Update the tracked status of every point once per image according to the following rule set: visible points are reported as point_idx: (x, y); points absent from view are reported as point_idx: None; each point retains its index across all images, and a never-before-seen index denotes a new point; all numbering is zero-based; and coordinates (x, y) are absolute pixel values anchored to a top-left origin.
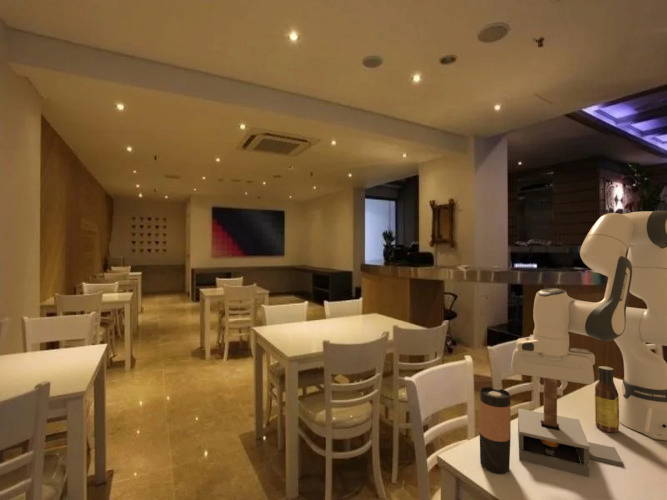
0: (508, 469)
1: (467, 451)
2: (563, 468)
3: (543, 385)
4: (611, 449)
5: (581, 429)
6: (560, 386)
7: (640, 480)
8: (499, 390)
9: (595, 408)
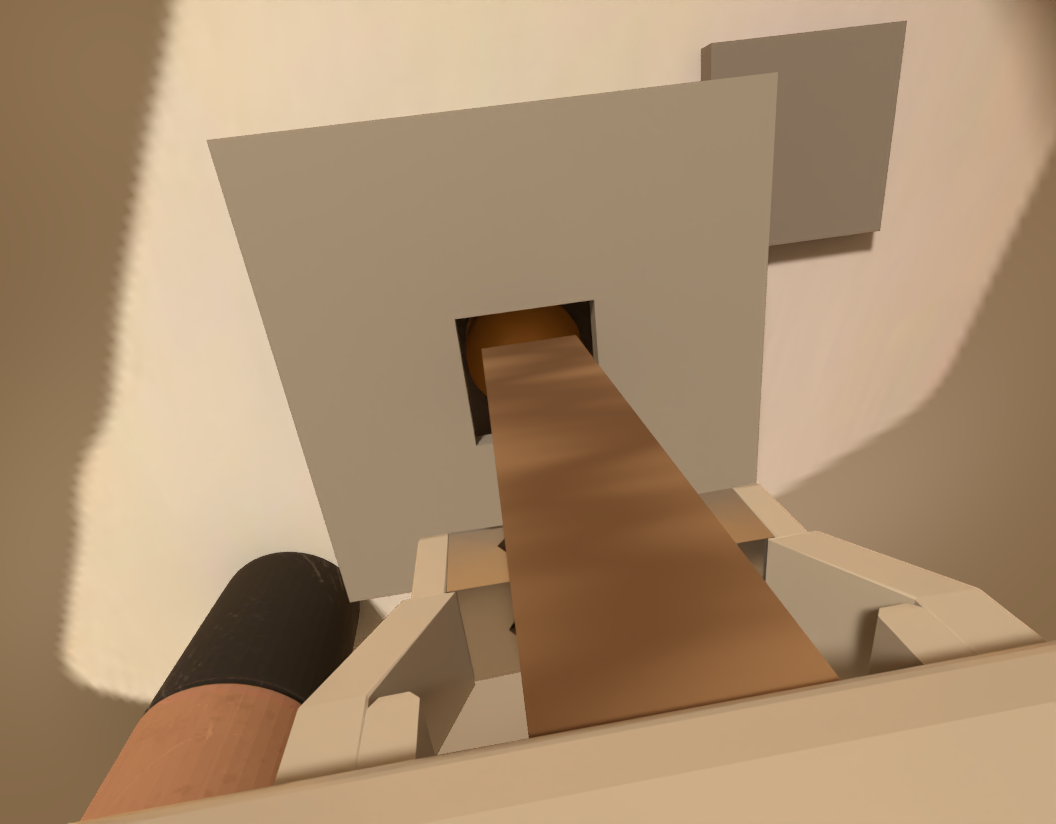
0: (358, 617)
1: (131, 568)
2: None
3: (502, 598)
4: (874, 72)
5: (755, 303)
6: (797, 571)
7: (896, 331)
8: None
9: None
